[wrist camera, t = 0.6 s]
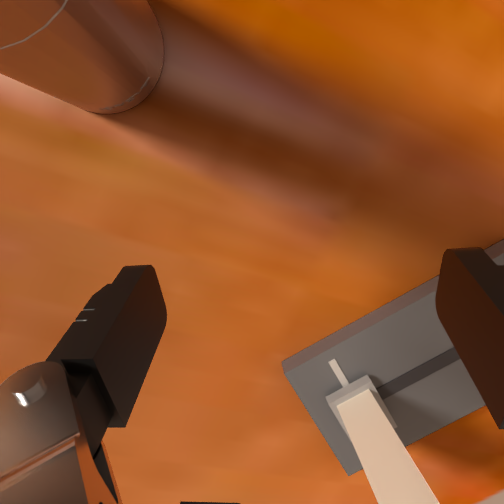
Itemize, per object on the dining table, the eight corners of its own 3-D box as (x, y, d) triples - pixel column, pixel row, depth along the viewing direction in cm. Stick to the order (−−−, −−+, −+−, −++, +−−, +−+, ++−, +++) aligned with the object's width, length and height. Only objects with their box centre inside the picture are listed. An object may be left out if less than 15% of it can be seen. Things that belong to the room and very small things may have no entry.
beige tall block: (325, 397, 31) (387, 552, 18) (367, 374, 30) (459, 516, 18) (352, 440, 32) (428, 617, 19) (392, 419, 31) (497, 583, 19)
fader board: (281, 361, 33) (284, 374, 31) (504, 238, 31) (523, 242, 29) (342, 459, 35) (348, 477, 33) (552, 349, 33) (573, 360, 31)
